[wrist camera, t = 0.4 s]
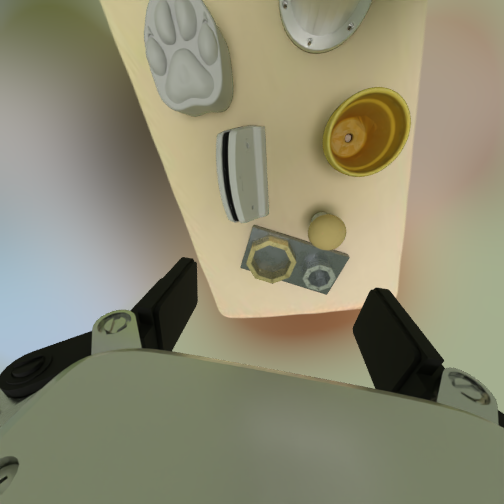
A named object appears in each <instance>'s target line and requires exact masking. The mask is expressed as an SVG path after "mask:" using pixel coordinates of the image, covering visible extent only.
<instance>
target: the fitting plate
mask: <svg viewBox="0 0 504 504" xmlns="http://www.w3.org/2000/svg"><path fill="white" fill-rule="evenodd" d="M348 259H349V256H348V254H345V253H342V252H338V251H335V250H322V249H319V248H317V247H315V246H314V245H313V244H312V243H310V242H307V241H304V240H300V239H297V238H294V237H291V236H288V235H285V234H282V233H278V232H275V231H272V230H269V229H266V228H263V227H259V226H256V225H254V226H253V229H252V232H251V235H250V238H249V242H248V245H247V248H246V252H245V255H244V258H243V261H242V265H241V268H243V269H246V270H249V271H251V272H252V274H253V276H254V277H255V278H256V279H259V280H262V281H266V282H269V283H272V284H273V283H276V282H278V281H284V282H288V283H291V284H294V285H297V286H300V287H304V288H307V289H310V290H313V291H317V292H320V293H323V294H326V295H327V294H328V292H329V290H330V289H331V287H332V285H333V284H334V282H335V281H336V279H337V277H338V276H339V274H340V272H341V271H342V269H343V268H344V266H345V264H346V263H347V261H348Z"/></svg>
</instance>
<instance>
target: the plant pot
mask: <svg viewBox="0 0 504 504" xmlns="http://www.w3.org/2000/svg"><path fill="white" fill-rule="evenodd" d="M410 126H411V117H410V111H409V108H408V106H407V104H406V102H405V100H404V99H403V98H402V97H401V96H400V95H399V94H398V93H397V92H395V91H393V90H391V89H388V88H383V87H374V88H368V89H365V90H362V91H360V92H358V93H356V94H354V95H353V96H351V97H350V98H348V99H347V100H346V101H344V102H343V103H342V104H341V105H340V106H339V107H338V108H337V109H336V110H335V111H334V113H333V114H332V115H331V117H330V119H329V121H328V123H327V125H326V127H325V130H324V135H323V151H324V154H325V157H326V159H327V161H328V162H329V164H330V165H331V166H332V167H333V168H334V169H336V170H337V171H339V172H341V173H343V174H346V175H349V176H354V177H363V176H368V175H372V174H375V173H377V172H379V171H381V170H383V169H384V168H386V167H387V166H388V165H389V164H390V163H392V162H393V161H394V160H395V158H396V157H397V156H398V155H399V154H400V152H401V151H402V149H403V147H404V145H405V143H406V141H407V139H408V136H409V132H410ZM347 134H351V135H352V140H351V141H350V142H346V141H345V136H346V135H347Z"/></svg>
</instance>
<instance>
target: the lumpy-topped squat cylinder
mask: <svg viewBox="0 0 504 504" xmlns="http://www.w3.org/2000/svg"><path fill="white" fill-rule="evenodd" d="M144 41H145V47H146V57H147V60H148V63H149V66H150V69H151V73H152V76H153V78H154V81H155V85H156V87H157V90H158V93H159V95H160V97H161V99H162V100H163V102H164V103H165V104H166V105H167V106H168V107H170V108H171V109H173V110H175V111H178V112H181V113H184V114H187V115H190V116H195V117H196V116H200V115H203V114H205V113H209V112H223V111H225V110H226V109H227V108H228V107H229V105H230V103H231V101H232V97H233V76H232V67H231V60H230V55H229V50H228V46H227V44H226V41H225V40H224V38H223V36H222V34H221V32H220V30H219V29H218V27H217V25H216V23H215V21H214V19H213V18H212V16H211V14H210V12H209V10H208V9H207V7H206V6H205V4H204V3H203V1H202V0H149V3H148V7H147V11H146V18H145V29H144Z"/></svg>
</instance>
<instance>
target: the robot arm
mask: <svg viewBox="0 0 504 504" xmlns="http://www.w3.org/2000/svg"><path fill="white" fill-rule="evenodd" d="M371 2H372V0H279V9H280V15H281V20H282V23H283V26H284V29H285V31H286V32H287V34H288V36H289V38H290V39H291V40H292V41H293V43H294V44H295V45H297V46H298V47H299V48H301V49H302V50H305V51H307V52H312V53H322V52H327V51H330V50H332V49H334V48H336V47H338V46H339V45H341V44H342V43H344V42H345V41H346V40H347V39H348V38H349V37H350V36H351V35H352V34H353V33H354V31H355V30H356V29H357V28H358V26H359V25H360V23H361V22H362V20H363V19H364V17H365V15H366V13H367V11H368V9H369V7H370V5H371ZM284 6H287V8H286V9H284V8H283V7H284ZM348 27H350V31H349V30H348V29H347V28H348ZM309 42H310V43H311V45H310V46H308V43H309ZM197 298H198V297H197V263H196V262H194V260H193V259H191V258H185V257H182V258H181V259H180V260H179V261H178V262H177V263H176V264H175V265H174V267H173V268H172V269H171V270H170V271H169V272H168V273H167V274H166V275H165V276H164V277H163V278H162V279H160V280H159V281H158V282H157V283H156V284H155V285H154V286H153V287H152V288H151V289H150V290H149V291H148V293H147V294H146V295H145V296H144V297H143V298H142V299H141V300H140V301H139V302H138V303H137V304H136V305H135V306H134V308H133V309H132V310H131V311H129V310H116V311H112V312H110V313H107V314H106V315H104V316H102V317H100V318H99V319H98V320H97V321H96V322H95V324H94V325H93V329H92V331H91V332H88V333H85V334H82V335H79V336H76V337H73V338H70V339H68V340H65V341H62V342H59V343H56V344H53V345H50V346H48V347H45V348H42V349H39V350H36V351H33V352H31V353H28V354H26V355H24V356H22V357H21V358H19V359H17V360H15V361H14V362H13V363H11V364H10V365H9V366H7V367H6V369H5V370H4V371H3V372H2V373H1V374H0V504H504V414H503V413H501V412H500V411H498V407H497V402H496V399H495V398H494V396H493V394H492V393H491V392H490V391H489V390H488V389H487V388H486V387H485V386H484V385H483V384H482V383H481V382H480V381H478V380H477V379H475V378H474V377H472V376H471V375H470V374H468V373H466V372H464V371H462V370H458V369H456V368H446V369H445V368H444V367H443V366H442V363H443V362H444V359H443V358H442V357H441V356H440V354H439V353H438V352H437V351H436V349H435V348H434V347H433V346H432V344H431V343H430V342H429V340H428V339H427V338H426V337H425V335H424V334H423V333H422V331H421V330H420V329H419V327H418V326H417V325H416V324H415V322H414V321H413V320H412V319H411V317H410V316H409V315H408V313H407V312H406V311H405V310H404V308H403V307H402V306H401V305H400V303H399V302H398V301H397V299H396V298H395V297H394V295H393V294H392V293H391V292H390V291H389V290H388V289H382V288H375V289H374V290H371V291H370V292H369V294H368V296H367V298H366V301H365V303H364V305H363V307H362V309H361V311H360V314H359V315H358V318H357V320H356V322H355V324H354V326H353V334H354V336H355V339H356V341H357V344H358V346H359V349H360V351H361V354H362V356H363V359H364V361H365V364H366V366H367V369H368V371H369V374H370V376H371V379H372V381H373V384H374V386H375V389H373V388H368V387H363V386H357V385H352V384H347V383H342V382H337V381H331V380H327V379H321V378H316V377H311V376H305V375H300V374H295V373H290V372H284V371H279V370H274V369H268V368H263V367H257V366H252V365H246V364H241V363H236V362H230V361H225V360H219V359H213V358H208V357H202V356H196V355H190V354H184V353H177V352H172V349H173V348H174V346H175V344H176V342H177V340H178V339H179V337H180V335H181V333H182V331H183V329H184V328H185V326H186V324H187V322H188V320H189V318H190V316H191V315H192V313H193V311H194V309H195V307H196V305H197V301H198V299H197Z"/></svg>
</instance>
